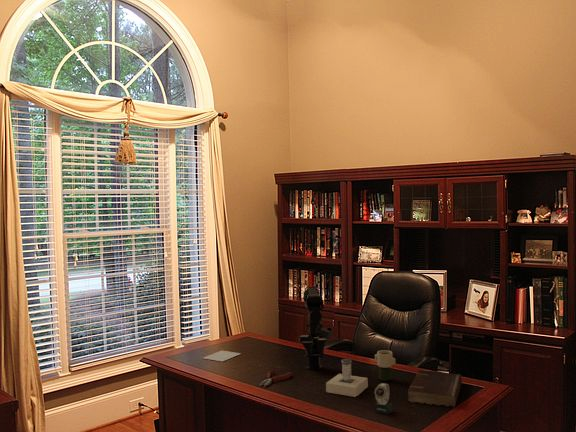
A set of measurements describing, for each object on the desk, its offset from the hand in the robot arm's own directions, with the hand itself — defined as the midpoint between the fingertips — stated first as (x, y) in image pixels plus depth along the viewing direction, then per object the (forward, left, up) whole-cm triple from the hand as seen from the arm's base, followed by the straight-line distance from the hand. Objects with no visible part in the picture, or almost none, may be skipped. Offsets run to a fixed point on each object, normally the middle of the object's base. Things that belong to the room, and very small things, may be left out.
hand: (315, 356), depth 252 cm
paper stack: (-9, -60, -12) cm, 62 cm away
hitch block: (+5, +18, -11) cm, 22 cm away
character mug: (-14, +29, -12) cm, 34 cm away
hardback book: (-8, +54, -12) cm, 56 cm away
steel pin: (+5, +18, -11) cm, 22 cm away
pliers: (+8, -20, -12) cm, 25 cm away
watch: (+22, +41, -12) cm, 48 cm away
